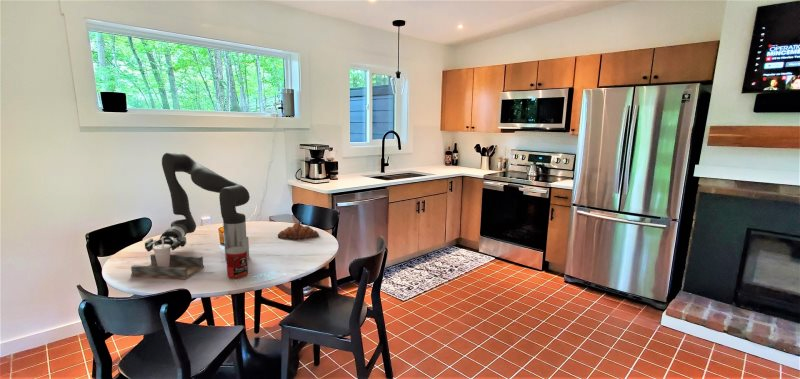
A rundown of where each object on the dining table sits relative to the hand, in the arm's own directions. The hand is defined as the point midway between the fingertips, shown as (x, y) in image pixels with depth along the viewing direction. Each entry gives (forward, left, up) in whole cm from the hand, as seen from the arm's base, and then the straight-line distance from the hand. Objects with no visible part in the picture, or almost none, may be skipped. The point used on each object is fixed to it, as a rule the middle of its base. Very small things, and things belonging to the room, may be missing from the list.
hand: (160, 248), depth 150 cm
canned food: (-30, -2, -11) cm, 32 cm away
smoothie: (+1, -2, -10) cm, 10 cm away
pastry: (-37, -56, -11) cm, 68 cm away
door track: (-1, -2, -10) cm, 11 cm away
